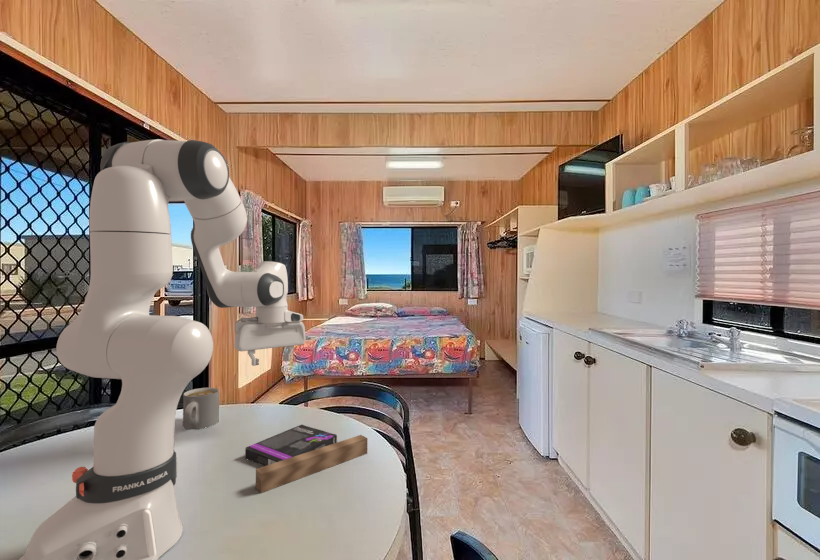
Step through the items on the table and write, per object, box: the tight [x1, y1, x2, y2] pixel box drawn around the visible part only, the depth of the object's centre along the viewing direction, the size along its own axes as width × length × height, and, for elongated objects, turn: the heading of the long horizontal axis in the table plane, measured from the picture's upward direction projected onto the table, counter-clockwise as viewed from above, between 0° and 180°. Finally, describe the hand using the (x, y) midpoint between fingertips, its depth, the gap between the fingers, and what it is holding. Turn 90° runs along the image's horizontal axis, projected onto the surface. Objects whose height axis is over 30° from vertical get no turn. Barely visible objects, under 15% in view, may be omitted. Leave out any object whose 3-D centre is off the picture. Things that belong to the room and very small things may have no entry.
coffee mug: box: [182, 387, 220, 430], centre depth 117 cm, size 13×10×10 cm
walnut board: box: [255, 434, 368, 494], centre depth 90 cm, size 28×3×4 cm, turn 133°
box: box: [244, 424, 338, 467], centre depth 100 cm, size 14×4×20 cm
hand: (271, 362), depth 110 cm, fingers open, 8 cm apart
